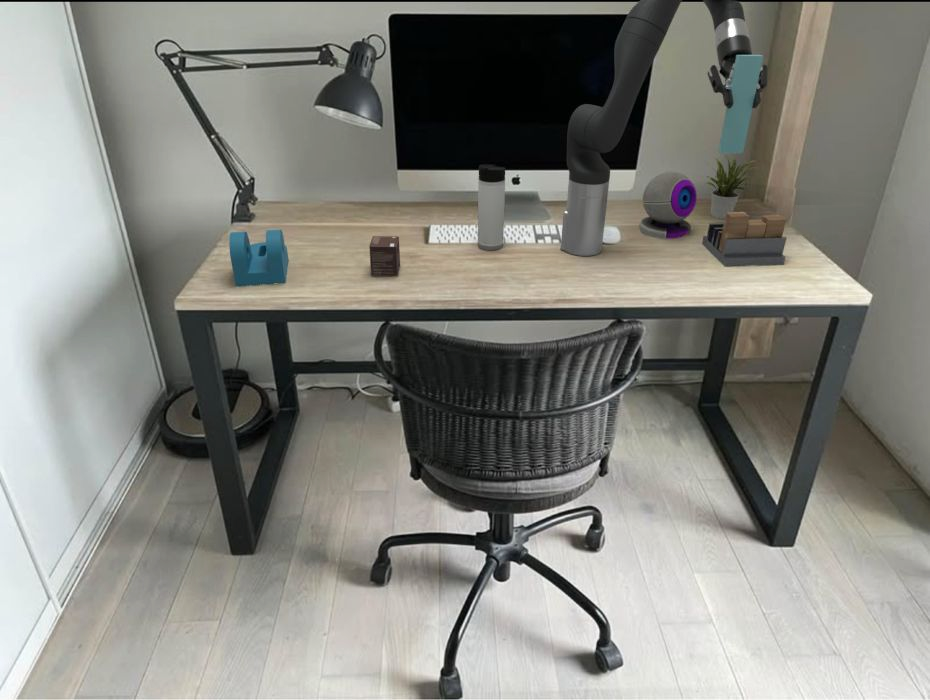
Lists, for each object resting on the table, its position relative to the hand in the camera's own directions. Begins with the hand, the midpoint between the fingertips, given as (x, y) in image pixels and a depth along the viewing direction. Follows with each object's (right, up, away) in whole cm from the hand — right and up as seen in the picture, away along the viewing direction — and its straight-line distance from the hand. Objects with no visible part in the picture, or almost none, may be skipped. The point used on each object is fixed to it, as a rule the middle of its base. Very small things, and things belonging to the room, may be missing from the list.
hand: (743, 106), depth 161 cm
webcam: (-14, -26, +17) cm, 34 cm away
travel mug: (-59, -32, +8) cm, 67 cm away
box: (-83, -39, -5) cm, 92 cm away
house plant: (+6, -21, +26) cm, 34 cm away
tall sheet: (0, -9, +7) cm, 11 cm away
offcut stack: (+1, -34, 0) cm, 34 cm away
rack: (+1, -34, +4) cm, 34 cm away
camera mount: (-111, -39, -4) cm, 118 cm away
